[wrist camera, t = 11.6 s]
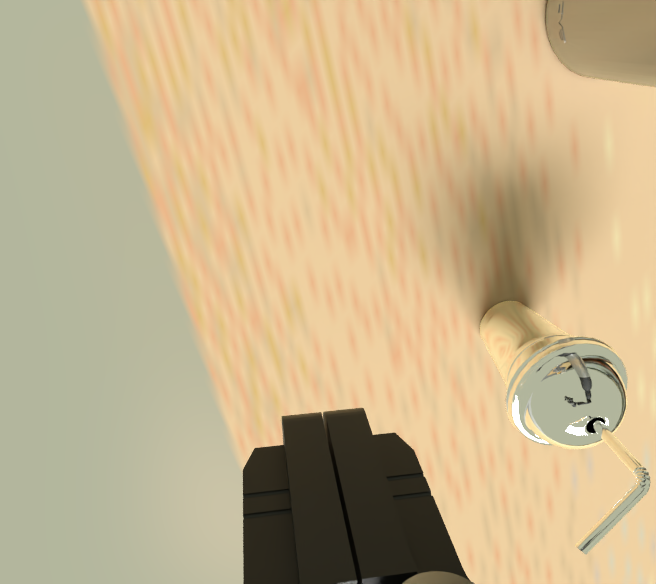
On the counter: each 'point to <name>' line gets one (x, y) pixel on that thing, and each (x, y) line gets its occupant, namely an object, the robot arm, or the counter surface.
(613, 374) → the cup with straw
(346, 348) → the counter surface
